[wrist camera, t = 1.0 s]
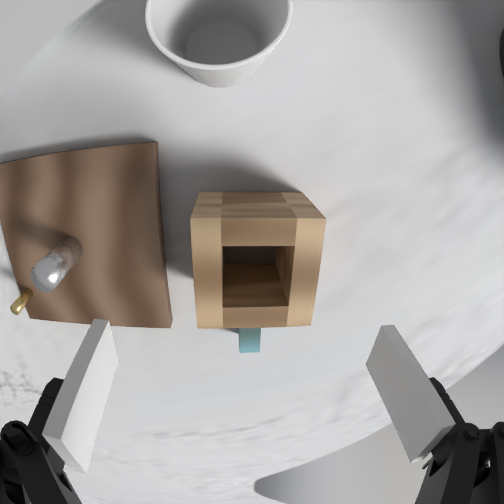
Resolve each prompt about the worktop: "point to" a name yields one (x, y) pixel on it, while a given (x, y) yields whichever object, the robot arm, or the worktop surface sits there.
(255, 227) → the hollow wooden frame
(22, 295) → the dowel
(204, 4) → the mug
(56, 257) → the post
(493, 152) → the worktop surface
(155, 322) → the base board
